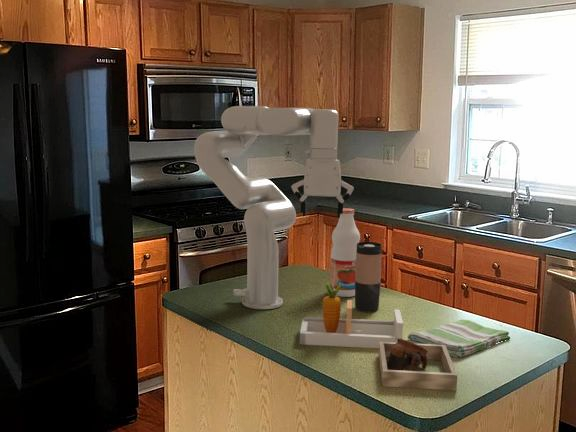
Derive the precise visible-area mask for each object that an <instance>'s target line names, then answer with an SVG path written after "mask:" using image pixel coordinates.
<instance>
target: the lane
mask: <svg viewBox="0 0 576 432" xmlns="http://www.w3.org/2000/svg"><path fill="white" fill-rule="evenodd" d="M346 322H347V318H340V319H339V323H338V327H337V330H336V332H335V333H327V332H326V329H325V325H324V319H323V317H313V316H304V318H303V319H302V322H301V326H300V331H299V345H305V346H324V347H326V346H327V347H341V348H342V347H345V348H362V349H379V342H396V343H397V342H398V339H403V335H404V334H403V333H404V330H403V329H404V321H403V317H402V313H401V309H393V320H377V319H376V320H374V319H353V318H351V330H358V331H362V334H346Z"/></svg>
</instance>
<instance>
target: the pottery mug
mask: <svg viewBox="0 0 576 432" xmlns="http://www.w3.org/2000/svg"><path fill="white" fill-rule="evenodd" d="M390 351H391V353H390V355H389V357H388V360H387V359H386V363H387V370H403V371H417V369H418V367H419V366H420V364H421V363H422V364H421V365H422V366H421V367H422V369H427V366H428V359H427V357H426V354H427V352H428V351H427V350H426V349H424V348H423V347H421V346H419V345H417V343H416V344H414V342H411V341H409V340H405V339H403V338H402V339H398V342H397V343H395V344H394V345H393V346H392V347H391V350H390ZM404 354H407V358H404Z"/></svg>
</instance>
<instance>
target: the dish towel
mask: <svg viewBox="0 0 576 432" xmlns="http://www.w3.org/2000/svg"><path fill="white" fill-rule="evenodd" d="M509 333H510V332H509V331H507V330H503V329H501V330H500V329H495V328H491V327H485V326H483V325H481V324H480V323H476V322H475V321H472V320H470V319H469V320H467V319H459V320H456V321H453V322H450V323H446V324H443V325H440V326H437V327H432V328H428V329H426V330H423V331H411V332H410V333H408V335H407V339H408V341H409V342H412V343H416V344H435V345H446V348H447V350H448V353H449V355H450V357H453V358H455V359H459V358H462V357H463V358H464V357H466V356H468V355H472V354H475V353H478V352H480V351H482V350H481V349H483V348H485V347H488V348H490V347H489V346H491V347H493V346H492V345H494V346H496V345H495V344H496V343H498V342H501V341H505V340H508V339H510V340H511V336H509V335H510V334H509ZM508 341H509V340H508ZM505 342H506V341H505ZM485 349H486V348H485ZM479 350H480V351H479ZM483 350H484V349H483ZM477 351H478V352H477Z"/></svg>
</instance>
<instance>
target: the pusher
mask: <svg viewBox="0 0 576 432" xmlns="http://www.w3.org/2000/svg"><path fill="white" fill-rule="evenodd" d="M346 300H347V301H346V319H347V322H346V334H362V331H358V330H351V319H353V318H352V315H353V314H352V313H353V308H352V307H353V304H352V303H353V301H352V299H346Z"/></svg>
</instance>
